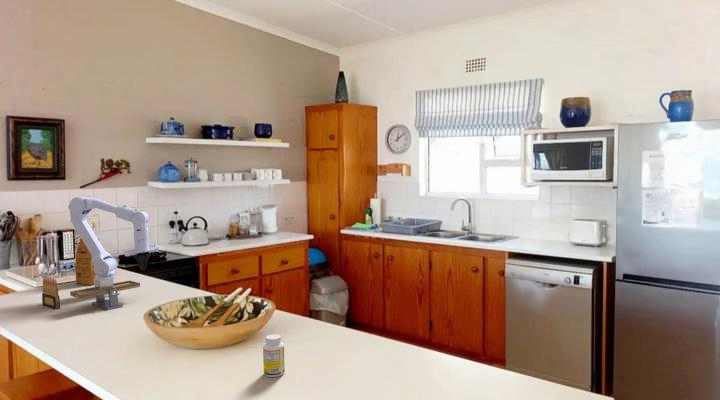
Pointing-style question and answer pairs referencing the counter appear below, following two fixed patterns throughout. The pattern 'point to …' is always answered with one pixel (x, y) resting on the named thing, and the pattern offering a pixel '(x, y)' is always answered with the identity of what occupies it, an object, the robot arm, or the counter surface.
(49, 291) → the ammunition clip
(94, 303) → the stand
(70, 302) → the counter surface
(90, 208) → the robot arm
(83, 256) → the coffee package
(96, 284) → the block
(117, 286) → the wooden tray
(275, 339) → the supplement bottle
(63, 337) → the counter surface
